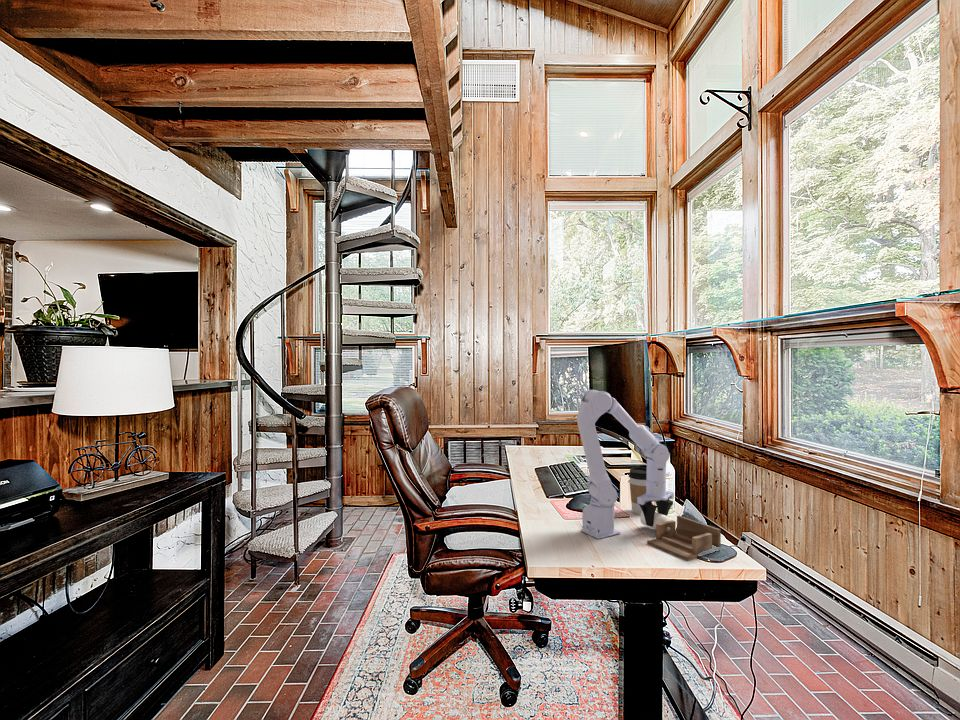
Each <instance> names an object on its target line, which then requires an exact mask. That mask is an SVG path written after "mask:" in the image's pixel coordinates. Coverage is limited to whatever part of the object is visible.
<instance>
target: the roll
mask: <svg viewBox="0 0 960 720" xmlns="http://www.w3.org/2000/svg"><path fill="white" fill-rule="evenodd" d="M639 519H640V523H641V524H642V525H643V526H646V527H648V528H651V529H653V530H656V524H658V523H662V522H666V521H671V520H672V518H671V517H670V516H668V515H667V516H665V515H663V514H660V513H658V512H656V511H655V514H654V524H653V526H652V527H651V526H649V525H646V521H645V517H644V514H643V511H642V513H641V515H640V517H639Z"/></svg>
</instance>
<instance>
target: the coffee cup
mask: <svg viewBox="0 0 960 720" xmlns="http://www.w3.org/2000/svg"><path fill="white" fill-rule="evenodd" d="M628 477H629V490H630V491H629V492H630V503H631V511H632V513H633V514H636V515H640V516H641V513H642V509H641V507H640V505H639V504H638V503H637V497H640V496H642V495H644V494H646V481H647V467H644V466H643V467H641V466H633V467H631V468H630V469H629V473H628Z"/></svg>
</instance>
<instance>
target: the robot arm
mask: <svg viewBox="0 0 960 720" xmlns="http://www.w3.org/2000/svg"><path fill="white" fill-rule="evenodd" d="M606 413H608V414H610V415H612V416H613V417H614V418H615V419H616V420H617V421H618V422H619V423H620V424H621V425H622V426H623V427H624V428H625V429H627V430H628V432H629V433H628V437H629V438H630V439H631V441H632V442H634V443H635V444H636V446H637V447H639V449H640V450H642V453H643V456H645V457H646V468H647V481H646V494H644V495H642V496H640V497H637V503H638V504H639V505H640V507H641V509H642V511H643V514H644V517H645V521H646V525H649V526H651V527H652V526H653V524H654V514H655V512H656V511H657V513H660V514H663V515H665V516H668V514H669V512H670V510H671V508H672V506H673V505H674V501H673V499H674V498H675V492H673V491H670V490H667V488H666V486H667V462H668V461H669V459H670V456H671V453H670V452H669V449H668V447H667V446H666V445H664V444H662V443H660V438H658V437H656V436H655V435H653V433H651V432H650V430H651V429H650V428H649V426H647V425H643V424H637V422H636V421H635V420H634V419H633V418H632V417H631V415H629V413H628V412H627V411H626V410H625V409H624V408H623V407H622V405H621V404H620V403H619V402H618V401H617V399H616V398H614V397H612V396H611V394H610V393H609V392H607V391H603V390H602V391H600V390H597V389H589V390H587V391H586V392H585V393H584V394H583V396H582V397H581V398H580V405H579V409H578V412H577V416H576V423H577V427H578V432H579V436H580V439H581V443H582V449H583V452H584V455H585V460H586V464H587V468H588V473H589V474H588V487H587V490H588V494H589V495H590V496H591V498H590V503H589V504H588V505H586V506H584V508H583V509H582V518H581V519H582V523H581V524H582V527H581V528H580V531H581V532H582V533H585V534H587V535H589V536H591V537H593V538H595V539H597V540H598V539H603V538H607V537H612V536H616V535H620V534H621V531H620V530H618V529H615V504H616V502H617V500H618V492H617V489H616V488H615V487H614V486H613V484H612V480H611V478H610V477H609V474H608V472H607V469H606V465H605V461H604V456H603V453H602V449H601V444H600V440H599V439H600V438H599V436H598V432H597V429H596V422H597V421H598V420H599V418H600V417H601V416H602V415H605V414H606ZM666 490H667V491H666ZM654 502H655V504H653V503H654ZM646 525H645V526H646ZM651 527H650V528H651Z"/></svg>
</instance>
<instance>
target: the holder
mask: <svg viewBox="0 0 960 720" xmlns="http://www.w3.org/2000/svg"><path fill="white" fill-rule="evenodd" d="M721 534H722V532H721V528H717V527H716V526H712V525H708V524H706V523H703V522H700V521H698V520H693V519H691V518H688V517H684V516H682V515H677V516H676V520H673V519H671V521H666V522H662V523H658V524H656V529H655V538H653V539H650V540H649V539H648V540H647V541H646V542H647V545H650V546H653V547H655V548H657V549H659V550H662V551H664V552H666V553H669V554H671V555H674V556H675V557H677V558H678V557H679V558H680V559H682V560H685V561H692V560H695V559H696V560H697V559H698V558H697V556H698V554H699V553H701V552H703V551H706V550H709V549H712V545H714V546H716V547H722V545H721V542H722V541H721V538H722V537H721Z"/></svg>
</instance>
